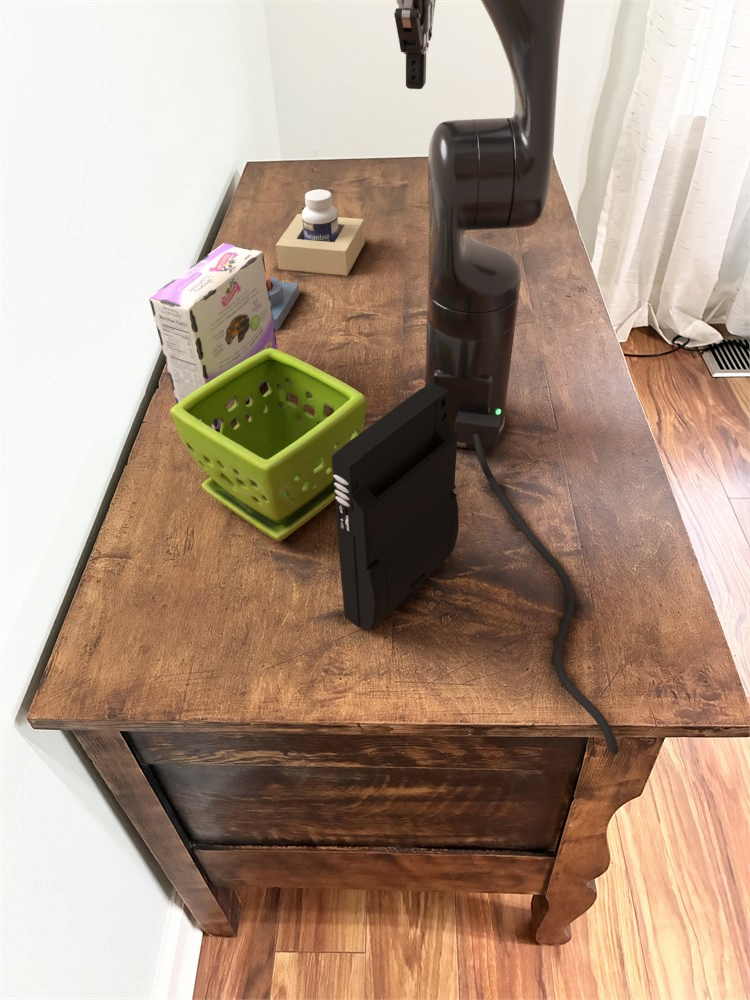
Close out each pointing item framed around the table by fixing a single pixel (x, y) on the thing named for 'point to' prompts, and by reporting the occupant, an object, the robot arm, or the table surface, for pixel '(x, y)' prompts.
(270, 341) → the candy box
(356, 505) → the black electronic device
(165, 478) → the table surface
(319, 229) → the pill bottle
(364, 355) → the table surface
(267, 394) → the flower pot
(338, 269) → the dock
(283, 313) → the switch block
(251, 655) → the table surface
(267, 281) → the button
